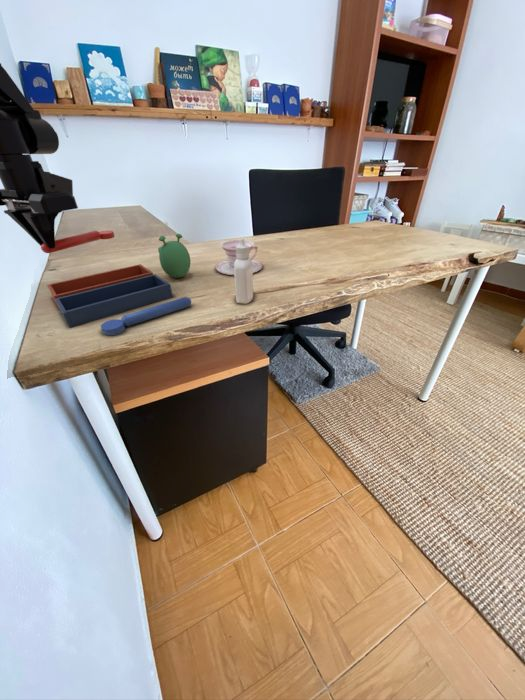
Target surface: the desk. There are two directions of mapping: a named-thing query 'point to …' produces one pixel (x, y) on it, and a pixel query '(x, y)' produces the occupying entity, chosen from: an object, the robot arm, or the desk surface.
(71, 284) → the far bin
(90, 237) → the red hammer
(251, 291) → the eye dropper bottle
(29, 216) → the robot arm
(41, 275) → the desk surface
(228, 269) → the teacup
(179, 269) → the alien toy
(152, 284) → the near bin
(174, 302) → the blue spoon
